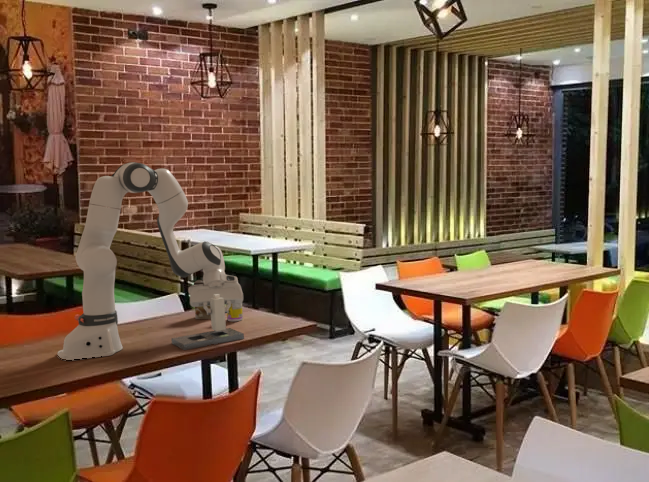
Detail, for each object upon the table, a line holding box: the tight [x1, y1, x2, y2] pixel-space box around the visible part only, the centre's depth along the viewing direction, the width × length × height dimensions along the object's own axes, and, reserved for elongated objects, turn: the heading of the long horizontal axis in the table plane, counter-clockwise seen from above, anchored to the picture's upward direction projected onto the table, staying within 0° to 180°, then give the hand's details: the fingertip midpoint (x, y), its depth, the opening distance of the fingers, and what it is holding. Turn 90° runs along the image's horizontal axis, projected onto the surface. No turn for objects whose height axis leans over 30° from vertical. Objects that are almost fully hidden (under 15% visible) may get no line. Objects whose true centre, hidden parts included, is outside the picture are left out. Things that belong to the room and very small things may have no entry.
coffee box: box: [193, 279, 211, 320], centre depth 305 cm, size 9×6×16 cm
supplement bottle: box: [225, 302, 244, 323], centre depth 298 cm, size 7×7×13 cm
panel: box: [171, 327, 245, 351], centre depth 265 cm, size 24×12×2 cm, turn 123°
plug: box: [210, 294, 227, 331], centre depth 267 cm, size 4×4×13 cm
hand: (217, 313), depth 266 cm, fingers closed on plug, 5 cm apart
